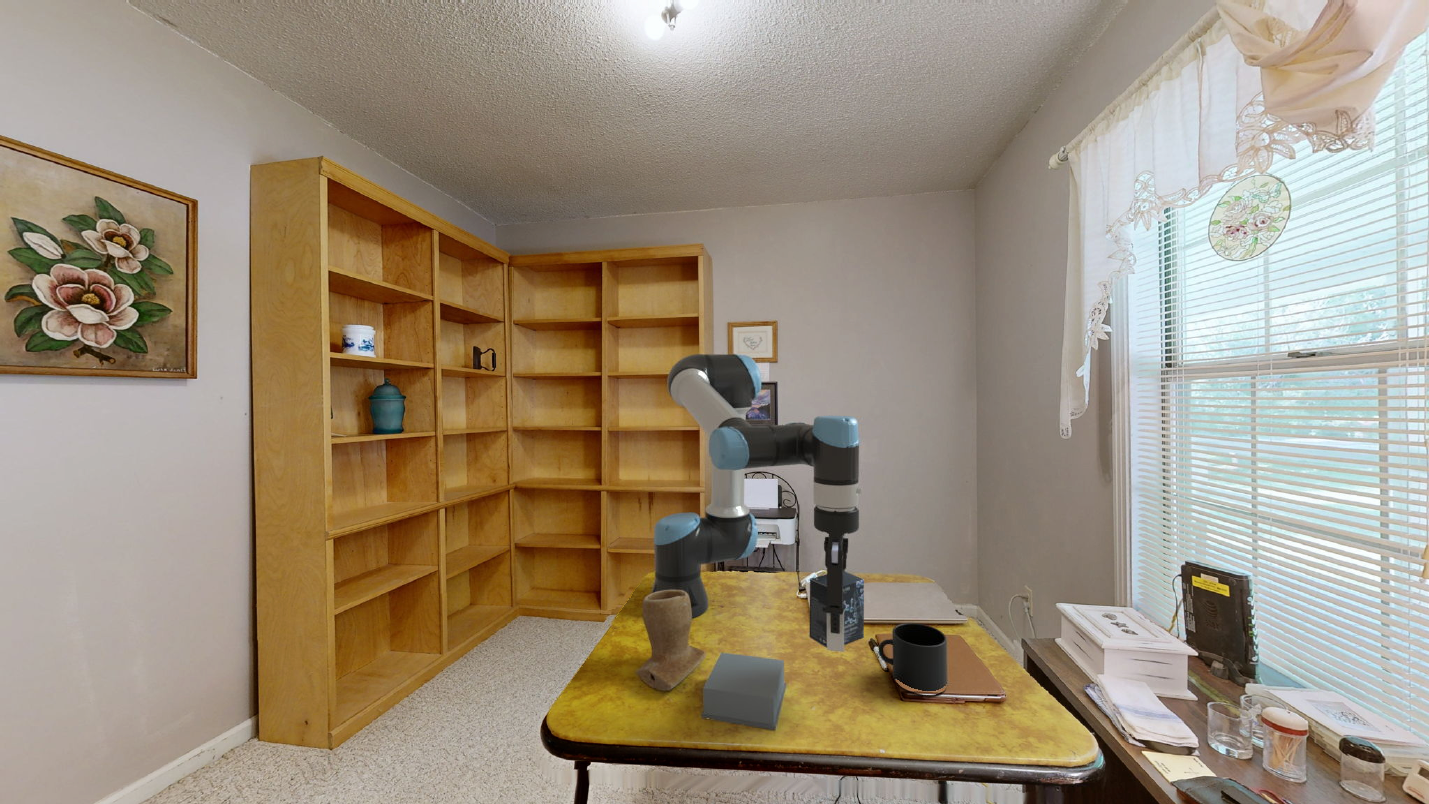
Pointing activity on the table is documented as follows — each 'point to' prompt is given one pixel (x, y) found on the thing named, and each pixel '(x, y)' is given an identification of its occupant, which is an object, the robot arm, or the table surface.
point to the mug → (918, 656)
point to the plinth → (745, 691)
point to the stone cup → (668, 639)
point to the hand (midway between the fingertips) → (836, 634)
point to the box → (851, 605)
